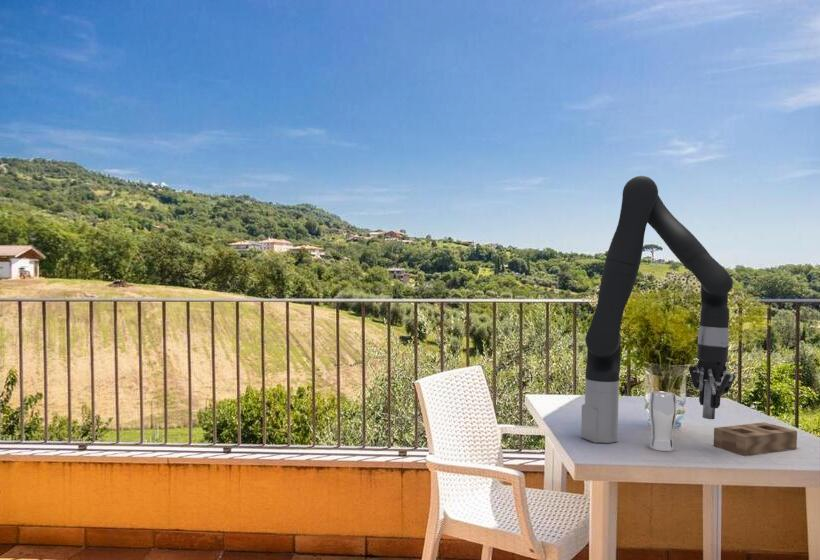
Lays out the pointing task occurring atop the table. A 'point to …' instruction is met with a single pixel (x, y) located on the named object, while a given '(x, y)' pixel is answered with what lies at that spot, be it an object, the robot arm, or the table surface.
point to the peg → (708, 401)
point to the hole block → (755, 438)
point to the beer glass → (662, 420)
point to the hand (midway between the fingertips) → (709, 406)
